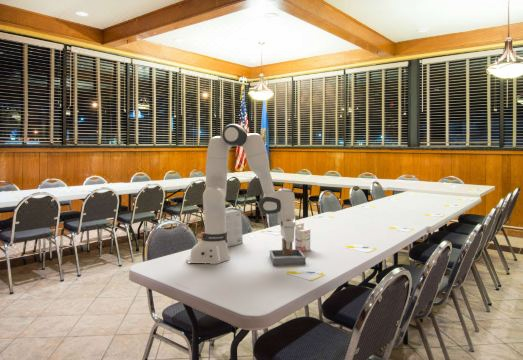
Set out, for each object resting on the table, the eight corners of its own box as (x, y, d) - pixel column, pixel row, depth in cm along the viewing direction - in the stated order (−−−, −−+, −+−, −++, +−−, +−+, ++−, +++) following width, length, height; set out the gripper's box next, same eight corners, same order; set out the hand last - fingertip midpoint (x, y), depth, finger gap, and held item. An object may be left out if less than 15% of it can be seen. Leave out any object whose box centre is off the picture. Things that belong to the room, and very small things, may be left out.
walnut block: (283, 255, 203) (283, 239, 202) (282, 253, 207) (282, 237, 207) (292, 255, 203) (292, 239, 203) (290, 252, 208) (290, 237, 207)
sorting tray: (273, 265, 197) (273, 258, 197) (269, 256, 213) (269, 250, 212) (305, 264, 198) (305, 257, 198) (299, 255, 214) (299, 249, 214)
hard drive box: (234, 241, 250) (234, 209, 248) (243, 243, 244) (242, 210, 243) (215, 246, 239) (214, 212, 237) (223, 248, 233) (222, 214, 232)
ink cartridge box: (302, 252, 221) (302, 226, 219) (295, 251, 224) (294, 225, 223) (310, 249, 227) (310, 223, 226) (303, 248, 230) (303, 222, 229)
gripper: (277, 217, 214) (278, 242, 215) (283, 224, 194) (283, 252, 195) (289, 216, 214) (289, 242, 216) (296, 223, 194) (296, 251, 195)
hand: (287, 247), depth 205 cm, fingers closed on walnut block, 4 cm apart
